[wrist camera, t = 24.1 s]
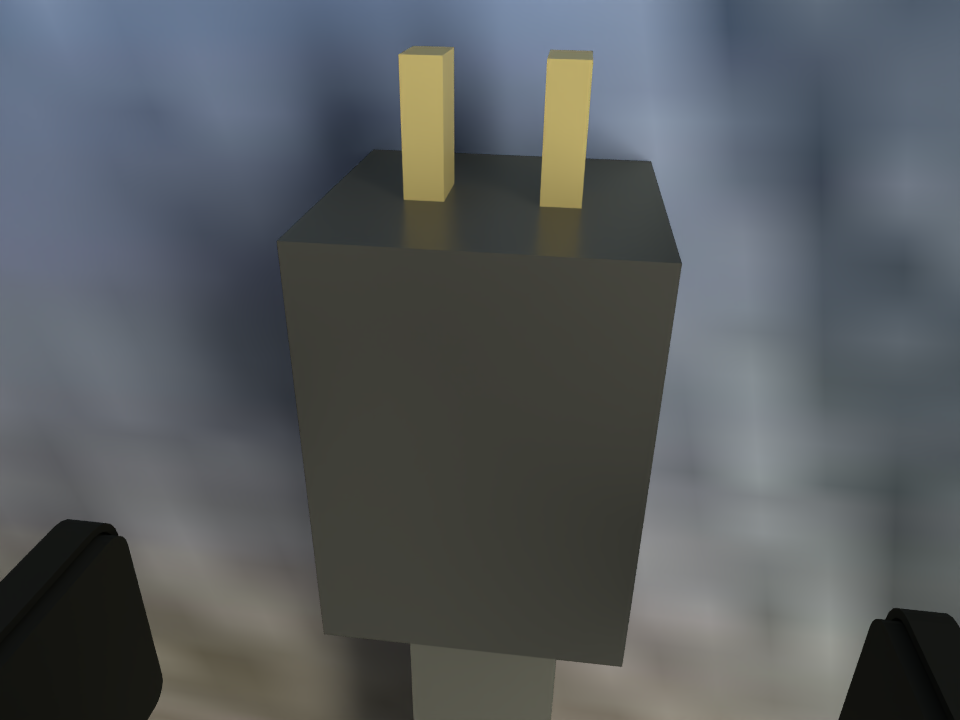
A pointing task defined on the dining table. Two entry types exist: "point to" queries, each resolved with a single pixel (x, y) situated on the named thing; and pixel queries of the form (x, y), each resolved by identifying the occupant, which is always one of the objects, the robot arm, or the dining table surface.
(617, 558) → the plug
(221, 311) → the dining table surface
